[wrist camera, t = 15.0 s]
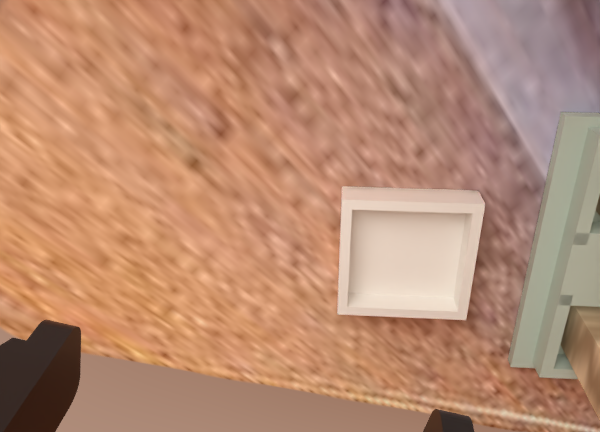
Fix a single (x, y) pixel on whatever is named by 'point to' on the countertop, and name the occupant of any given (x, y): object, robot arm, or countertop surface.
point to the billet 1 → (584, 349)
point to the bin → (408, 251)
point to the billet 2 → (598, 206)
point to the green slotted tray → (562, 249)
